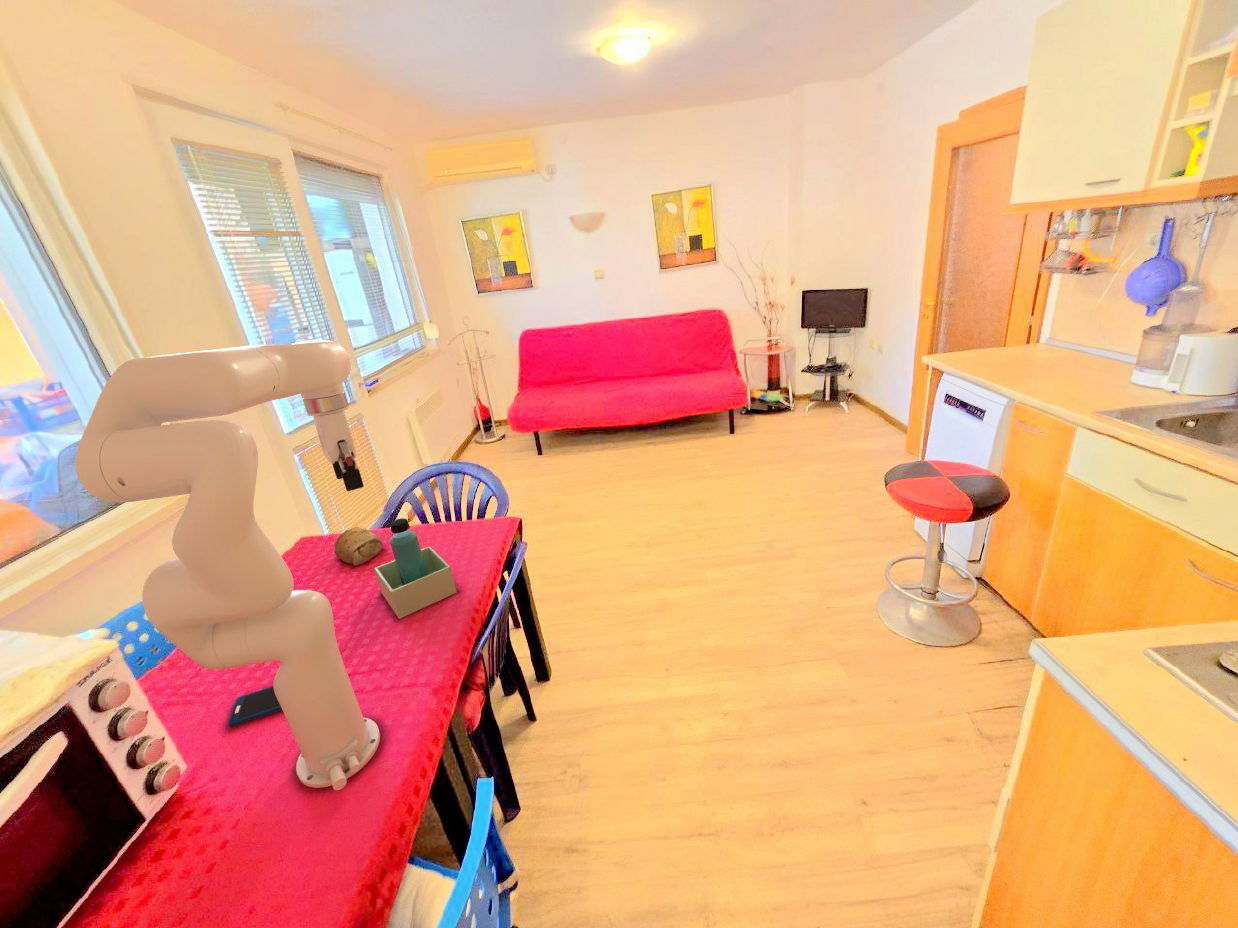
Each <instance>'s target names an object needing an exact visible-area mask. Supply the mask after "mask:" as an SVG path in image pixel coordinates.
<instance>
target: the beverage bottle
mask: <svg viewBox="0 0 1238 928" xmlns="http://www.w3.org/2000/svg"><path fill="white" fill-rule="evenodd" d="M389 526H390V531H391V533H392V534H393V535H392V536H391V537H390V539H389V544H390V547H391V551H392V554H393V559H394V560H395V561H396V565H397V568H398V571H399V574H400V576H399V577H400V578H401V581H402V584H403V585H406V584H408V583H410V582H413V581H415V580H417V579H420V578H422V577H425V576H427V575H429V574H428V573H427V571H428V570H427V569H426V565H425V562H424V557H423V555H422V552H421V550H422V548H421V544H420V542H419V538H418V533H417V532H416V531H413V530H411V529H410V527H411V526H410V524H409V521H408V519H407V518H405V517H404V518H403V517H401V518H397V519H394V520H392V521H391V522H390V524H389Z"/></svg>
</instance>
